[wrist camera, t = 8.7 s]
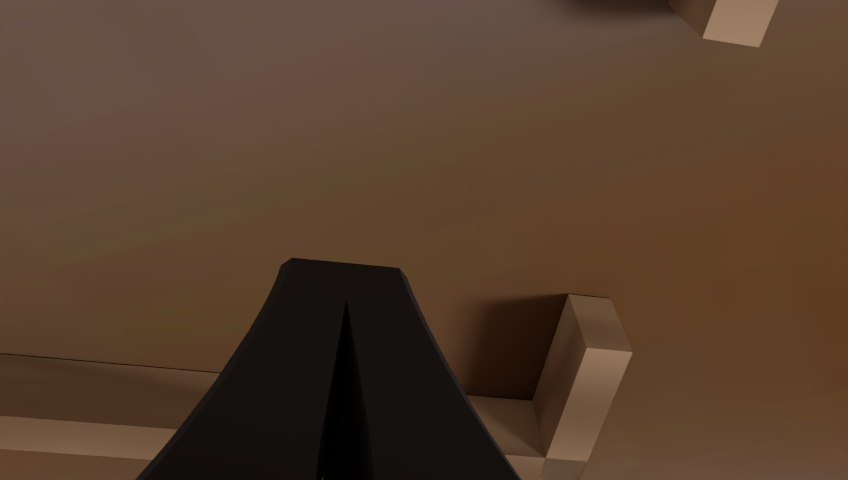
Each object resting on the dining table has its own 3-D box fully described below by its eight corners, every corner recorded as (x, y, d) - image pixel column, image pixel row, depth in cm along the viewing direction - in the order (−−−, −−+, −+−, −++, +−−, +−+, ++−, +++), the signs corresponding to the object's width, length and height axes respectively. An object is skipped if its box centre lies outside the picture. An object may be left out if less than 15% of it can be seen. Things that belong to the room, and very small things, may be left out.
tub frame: (559, 432, 25) (575, 490, 23) (-56, 381, 22) (-94, 442, 20) (821, -261, 15) (884, -257, 13) (-223, -496, 12) (-324, -531, 11)
